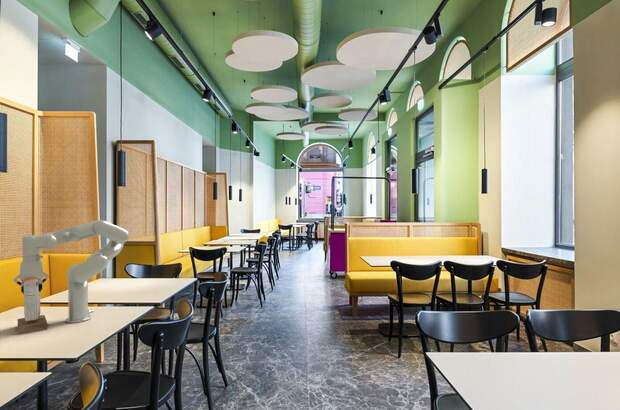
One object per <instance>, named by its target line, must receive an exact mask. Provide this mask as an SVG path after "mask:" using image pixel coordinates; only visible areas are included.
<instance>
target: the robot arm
mask: <svg viewBox="0 0 620 410" xmlns="http://www.w3.org/2000/svg"><path fill="white" fill-rule="evenodd" d="M96 236H102V237H103V238H106V239H107V240H109V242H108V243H107V244H106V245H104V246H103V247H101V248H100V249H98V250H96V251H95V252H92V253H91V254H90V255H89V256H88V257H87V258H86V260H85V261H84V262H82V263H75V264H72V265H70V267H69V268H68V270H67V274H66V275H67V291H68V293H67V294H68V296H67V297H68V300H67V301H68V302H67V304H68V308H67V309H68V317H67V318H65V320H64V322H65V323H69V324H75V323H76V324H77V323H82V322H87V321H89V320H91V319H92V315H90V314H92V313H94V312H95V309H94V308H92V309H89V300H88V299H89V285H88V284H89V283H88V281H89V280H91V279H92V278H93V277H95V276H97V275H98V274H99V273H101V272H102V271H104V270H105V269H106V268H107V266H108V265H109V262H110V261H111V260H112V259H114V258H115V257H117V255H119V254H120V253H121V252H122V250H123V247H124V245H125V243H126V242H127V241H128V240H129V239H130V234H129V232H128V230H126V229H125V228H123V227H120V226H118V225H115V224H113V223H111V222H109V221H107V220H103V219H99V220H94V221H90V222H86V223H81V224H77V225H75V226H71V227H68V228H64V229H60V230H56V231H51V232H48V233H45V234H42V235H24V236H22V239H21V246H22V247H21V248H22V249H21V250H22V251H21V252H22V261H21V262H20V264H19V274H18V275H17V276H16V277H14V278H13V279H12V280H13V282H15V283H16V284H17V285H18V286H20V287H21V289H20V291H21V293H22V294H23V295H24V281H25V280H30V279H38V281H39V282H40V283H39V292H40V293H41V292H42V290H43V284H44V283H45V282H46V281H47V280H48V279H49V278H50V275H49V274H47V273H46V272H45V271H44V267H43V261H42V260H41V259H44V255H41V254H40V252H41V250H40V249H52V248H54V247H55V246H56V245H60V244H64V243H67V242H69V243H70V242H79V241H83V240H86V239H89V238H93V237H96ZM19 280H20V281H19Z"/></svg>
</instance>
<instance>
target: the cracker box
mask: <svg viewBox="0 0 620 410" xmlns="http://www.w3.org/2000/svg"><path fill="white" fill-rule="evenodd" d="M39 283H40V282H39V281H38V279H30V280H25V281H24V294H23V303H24V304H23V308H24V311H23V312H24V315H23V316H24V318H25V322H26V321H33V320H38V318H39V316H40V315H41V292H39Z"/></svg>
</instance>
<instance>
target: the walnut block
mask: <svg viewBox="0 0 620 410" xmlns="http://www.w3.org/2000/svg"><path fill="white" fill-rule="evenodd" d="M46 330H48V321H47V317H46V316H45V314H40V315H39V318H38V320H33V321H26V322H25V317H22V318H17V331H18V335H23V334H30V333H35V332H41V331H46Z"/></svg>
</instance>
